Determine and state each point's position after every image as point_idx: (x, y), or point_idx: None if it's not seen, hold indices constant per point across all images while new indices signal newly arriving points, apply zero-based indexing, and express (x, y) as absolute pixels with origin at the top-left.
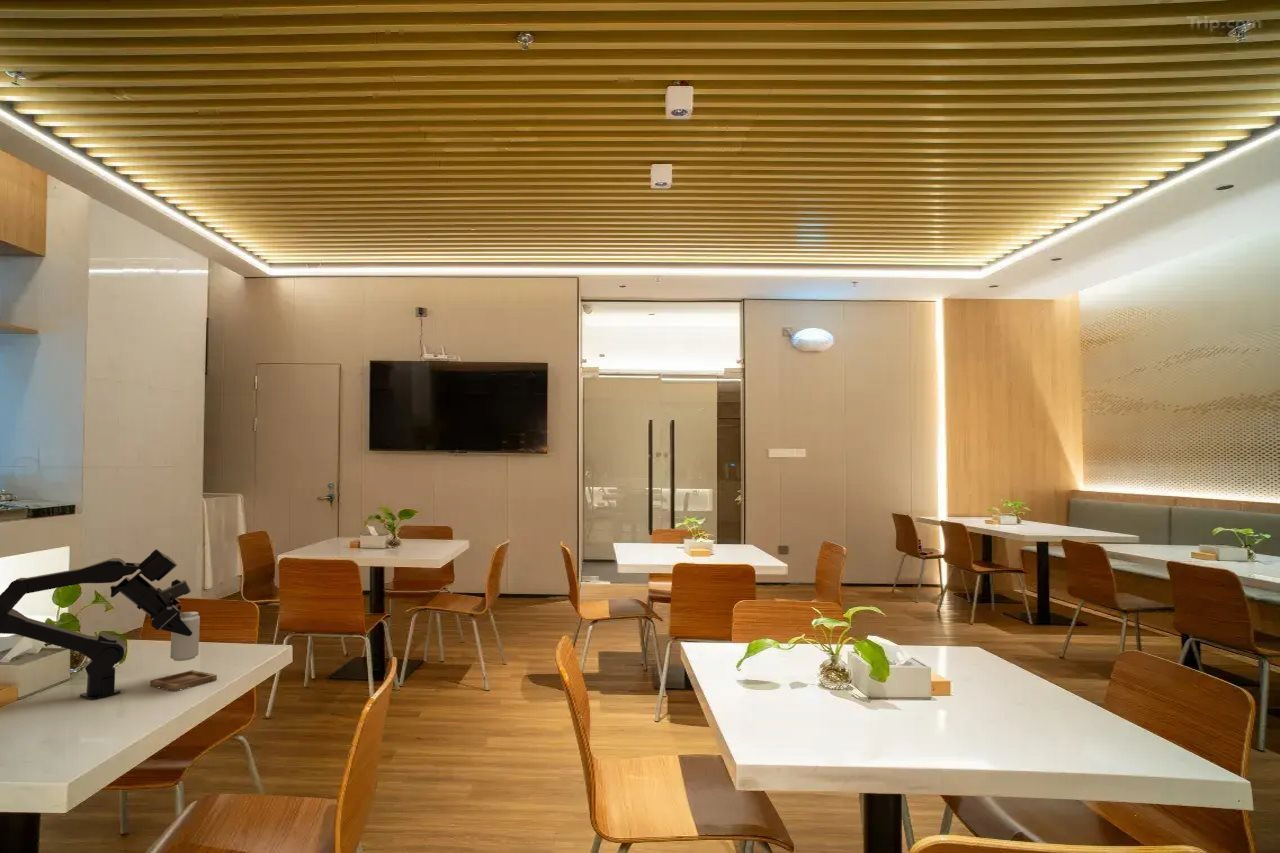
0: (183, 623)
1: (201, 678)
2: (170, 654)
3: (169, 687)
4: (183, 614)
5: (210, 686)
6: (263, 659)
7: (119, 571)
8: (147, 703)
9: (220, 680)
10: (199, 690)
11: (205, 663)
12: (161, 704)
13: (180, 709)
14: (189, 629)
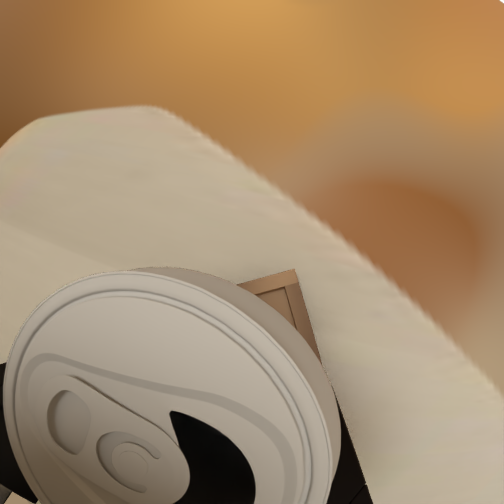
0: (370, 500)
1: (304, 324)
2: (217, 440)
3: None
4: (147, 501)
5: (355, 310)
6: (152, 116)
7: None
8: (392, 480)
9: (300, 263)
10: (377, 349)
11: (60, 233)
12: (432, 451)
13: (498, 410)
14: (340, 418)
